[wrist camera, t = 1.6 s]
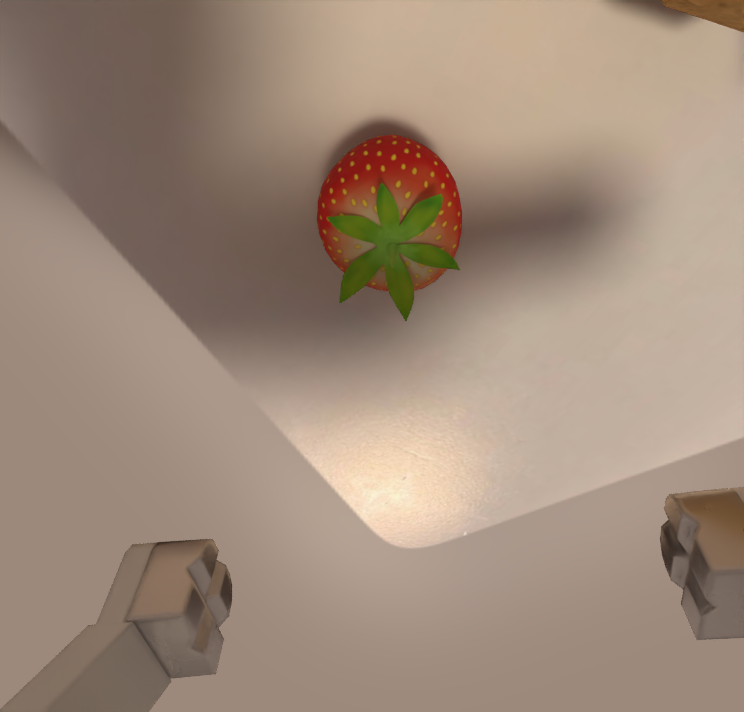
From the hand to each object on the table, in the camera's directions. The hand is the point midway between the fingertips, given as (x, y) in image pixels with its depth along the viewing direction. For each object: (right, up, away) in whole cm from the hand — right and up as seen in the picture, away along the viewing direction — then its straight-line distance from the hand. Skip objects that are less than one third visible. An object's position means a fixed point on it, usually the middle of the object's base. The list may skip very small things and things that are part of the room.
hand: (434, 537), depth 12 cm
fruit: (0, +11, +15) cm, 18 cm away
